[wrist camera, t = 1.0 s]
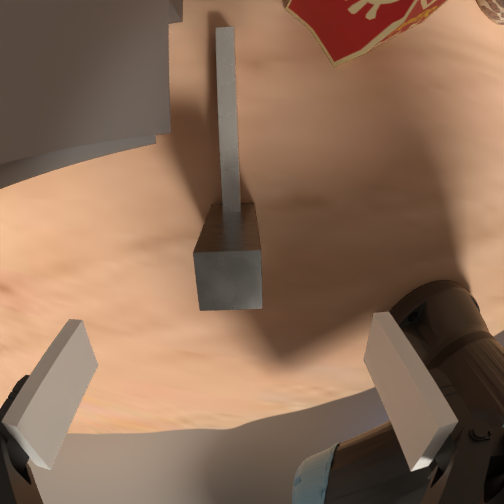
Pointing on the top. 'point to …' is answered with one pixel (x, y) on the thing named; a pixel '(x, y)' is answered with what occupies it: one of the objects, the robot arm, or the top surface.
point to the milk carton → (358, 22)
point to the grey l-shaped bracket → (228, 209)
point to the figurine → (493, 10)
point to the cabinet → (81, 80)
